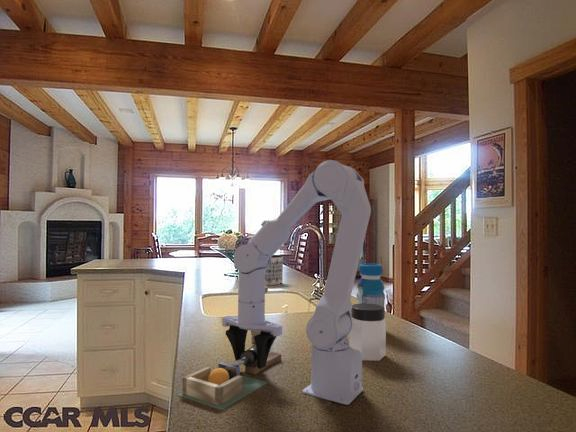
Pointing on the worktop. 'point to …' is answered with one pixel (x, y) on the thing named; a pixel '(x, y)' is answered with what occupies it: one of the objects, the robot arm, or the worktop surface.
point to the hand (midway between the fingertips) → (250, 364)
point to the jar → (368, 331)
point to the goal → (211, 387)
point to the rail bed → (271, 360)
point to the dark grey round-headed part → (240, 362)
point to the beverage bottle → (370, 285)
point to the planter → (274, 271)
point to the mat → (247, 388)
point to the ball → (218, 376)
